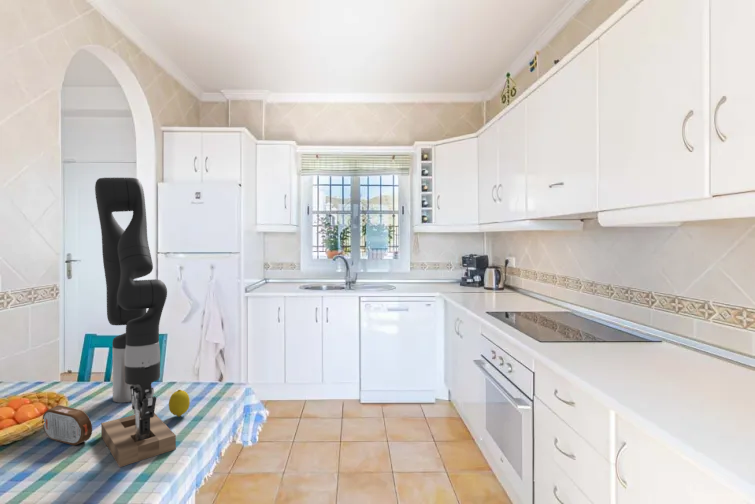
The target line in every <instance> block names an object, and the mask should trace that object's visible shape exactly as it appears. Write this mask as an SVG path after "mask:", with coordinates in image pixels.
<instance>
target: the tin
mask: <svg viewBox="0 0 755 504" xmlns="http://www.w3.org/2000/svg"><path fill="white" fill-rule="evenodd" d="M43 419H44V422H45V423H44V425H43V424H42V427H43V432H44V433H45V434H46V436H47V438H49V439H51V440H53V441H54V442H55V441H56V442H60V443H63V444H67V445H71V446H77V445H80V444H82V443H84V442H87V441H89V440H90V438H91V437H92V434H93V423H92V421H91V418H90V417H89V415H88V414H87V413H86V412H85V411H84V410H82V409H79V408H78V409H77V408H73V407H70V406H64V405H61V404H60V405H55V406H54V407H51V408H49V409H47V410H45V412H44V413H43V414H42V420H43Z"/></svg>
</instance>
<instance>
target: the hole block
mask: <svg viewBox="0 0 755 504" xmlns="http://www.w3.org/2000/svg"><path fill="white" fill-rule="evenodd" d="M100 425H101V426H100V427H101V438H102V440H103V442H104V443H105V445H106V447H107V448H108V450H109V452H110V453H111V455H112V457H113V459H114V460H115V462H116V464H117V465H118V467H119V468H121V467H125V466H128V465H131V464H134V463H139V462H140V461H143V460H147V459H149V458H153V457H156V456H159V455H162V454H165V453H168V452H171V451H174V450H176V447H177V446H176V444H177V443H176V442H177V441H176V440H177V437H176V435H177V434H175V432H173V431H172V429H170V428H169V426H167V424H166V423H165V422H163V420H162V419H161V418H160V417H159V416H158V415H157V414H156V412H154V417H152V418H150V438H148V439H144V440H141V441H138V442H135V414H132V415H129V416H126V417H125V416H124V417H120V418H116V419H113V420H109V421H105V422H101V424H100Z"/></svg>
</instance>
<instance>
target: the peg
mask: <svg viewBox="0 0 755 504" xmlns="http://www.w3.org/2000/svg"><path fill="white" fill-rule="evenodd" d="M140 406H143V404H142V405H140ZM146 413H148V412H146ZM134 415H135V442H138V441H141V440H144V439H148V438H150V432H149V433H147V434H144V435H140V433H139V410H137V409H136V404H135V414H134Z"/></svg>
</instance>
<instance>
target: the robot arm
mask: <svg viewBox="0 0 755 504" xmlns="http://www.w3.org/2000/svg"><path fill="white" fill-rule="evenodd" d="M94 193H95V199H96V200H95V201H96V207H97V213H98V219H99V224H100V231H101V246H102V247H101V248H102V260H103V261H102V263H103V270H104V277H105V285H106V286H105V287H106V316H107V321H108V323H109V324H110V325H111V326H125V333H122V334H119V335H117V336H115V337H114V338H113V339H112V401H113V402H114V403H130V402H131V408H132V410H133V415H135V404H136V409H137V410H139V433H140V435H144V434H147V433H149V432H150V418H152V417H154V413H155V410H156V404H157V396H154V395H155V391H154V390H155V388H154V387H152V383H154V382H156V381H158V380H159V379H160V377H161V348H160V322H161V318H162V313H163V310H164V307H165V304H166V301H167V297H168V289H167V286H166V284H165V282H163V281H162V280H161V279H139V278H143V277H146V276H149V275H150V273H152V271H153V269H154V266H153V265H154V264H153V260H152V254H151V250H150V247H149V240H148V238H149V237H148V227H147V226H148V223H147V211H146V208H147V207H146V200H145V192H144V187H143V185H142V182H141V181H140V180H139V179H138V178H135V177H100V178H97V179H96V181H95V184H94ZM114 212H115V213H117V212H118V213H119V212H122V213H123V212H132V216H131V220H130V222H129V223H128V225H127V227H126V228H125V229H123V228H122V226H120V224H119V223H118V222H117V220H116V218H115V217H114V215H113V213H114ZM136 279H139V280H136ZM142 404H143V406H140V405H142ZM146 412H148V413H146Z"/></svg>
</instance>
